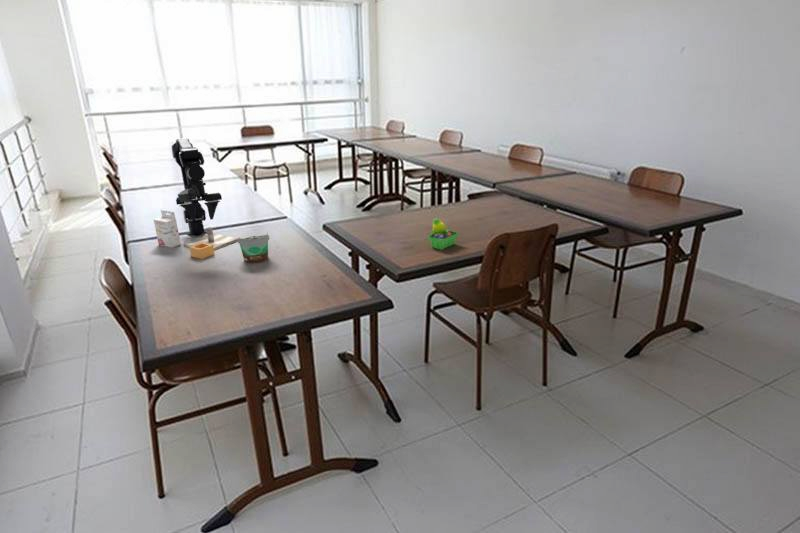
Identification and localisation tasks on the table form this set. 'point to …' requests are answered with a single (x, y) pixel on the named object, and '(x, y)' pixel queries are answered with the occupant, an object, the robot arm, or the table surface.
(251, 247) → the food container
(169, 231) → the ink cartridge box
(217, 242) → the post board
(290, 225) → the table surface
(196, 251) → the orange square ring
